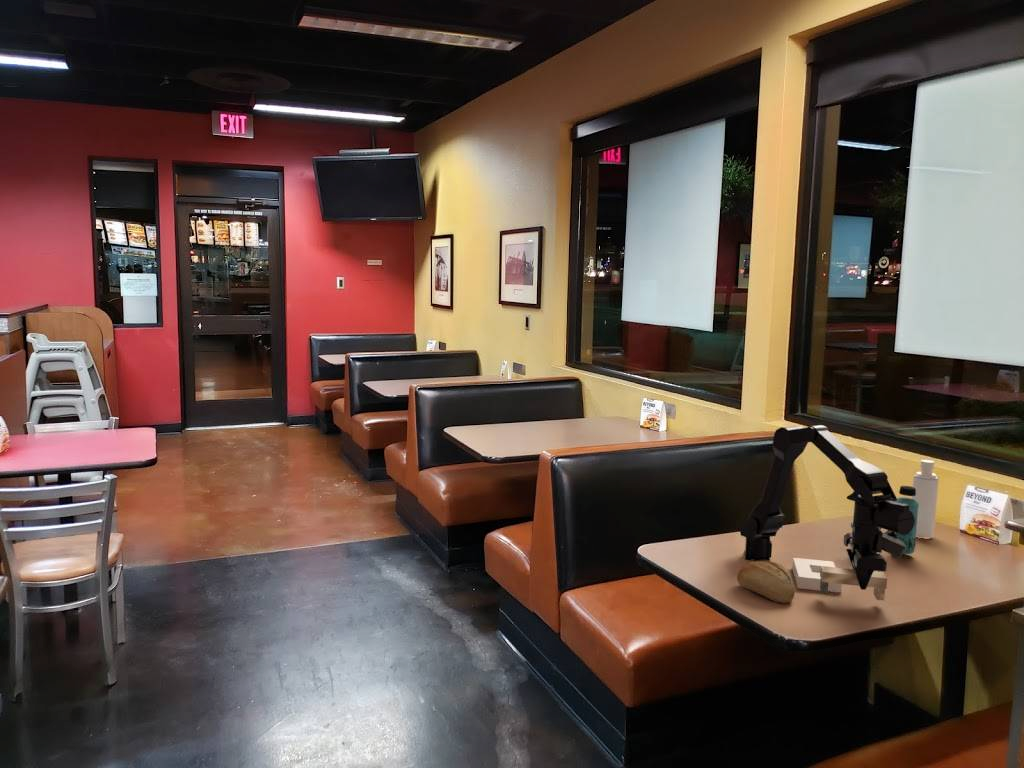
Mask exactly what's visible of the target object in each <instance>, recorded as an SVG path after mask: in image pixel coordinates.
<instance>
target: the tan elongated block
mask: <svg viewBox="0 0 1024 768" xmlns="http://www.w3.org/2000/svg"><path fill="white" fill-rule="evenodd" d="M820 577H821V582H820V589H821V591H820V592H821V594H822V595H828V593H829V591H828V583H837V584H842V585H848V586H858V587H860V586H859V582H858V579H857V576H856V573H855V569H853V568H844V567H836V566H835V567H826V566H821V568H820ZM887 583H888V578H887V576H886V574H885V571H874V572H873V573H872V576H871V578H870V580H869V583H868V585H867V587H868V588H873V595H874V597H875V599H876V600H877V601H885V596H886V593H885V592H886V589H887V588H888V587H887Z"/></svg>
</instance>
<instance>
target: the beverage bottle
mask: <svg viewBox="0 0 1024 768" xmlns="http://www.w3.org/2000/svg"><path fill="white" fill-rule="evenodd" d="M898 493H899V494H900V495H902V496H898V497H896V498H897V501H894V502H898V503H901V504H907V505H909V506H910V507H909V510H910V511H911V512H912V513H913V515H914V519H915V523H914V527H913V529H912V531H911V532H910V533H909V534H907V535H901V534H898V533H896V534H897V539H900V540H901V541H902V542H903V543H904V544H905V545H906V548H905V550H904V552H903V554H902V555H912V554H913V553H914V552H915V550H916V540H917V538H916V529H917V517H918V507H919V503H918V502H917V501H916V500H915V499H913V498H912V496H915V495H916V489H915V488H914V487H913V486H910V485H902V486H900V487H899V491H898Z"/></svg>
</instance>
